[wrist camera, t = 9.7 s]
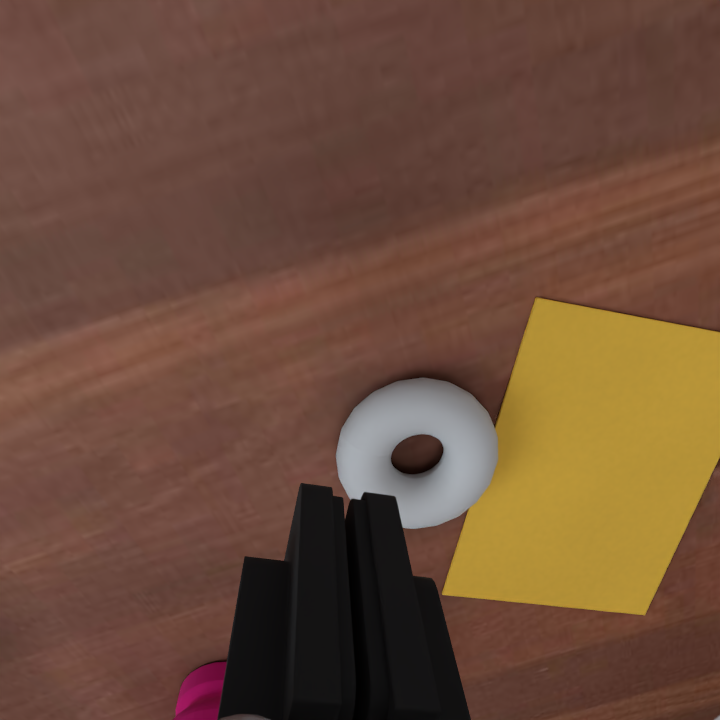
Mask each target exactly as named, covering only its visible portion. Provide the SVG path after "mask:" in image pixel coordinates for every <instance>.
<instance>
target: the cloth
mask: <svg viewBox="0 0 720 720" xmlns="http://www.w3.org/2000/svg"><path fill="white" fill-rule="evenodd" d="M494 428H495V430H496V433H497V436H498V462H497V465H496V468H495V471H494V474H493V477H492V480H491V483H490V485H489V486H488V487H487V489H486V490H485V492H484V493H483V494H482V496H481V497H480V498H479V500H478V501H477V502H476V503H475V504H474V505H472V506H471V507H470V508H469V509H468V512H467V515H466V518H465V521H464V525H463V528H462V531H461V534H460V537H459V540H458V543H457V547H456V550H455V553H454V556H453V559H452V562H451V566H450V569H449V572H448V575H447V578H446V581H445V584H444V588H443V591H442V595H450V596H460V597H470V598H480V599H490V600H500V601H510V602H520V603H530V604H540V605H550V606H559V607H569V608H579V609H589V610H599V611H609V612H619V613H629V614H639V615H645V614H646V611H647V609H648V607H649V605H650V603H651V601H652V599H653V597H654V595H655V592H656V590H657V588H658V586H659V584H660V582H661V580H662V578H663V576H664V573H665V571H666V569H667V567H668V565H669V563H670V561H671V559H672V557H673V554H674V552H675V550H676V548H677V546H678V544H679V542H680V540H681V538H682V535H683V533H684V531H685V529H686V527H687V525H688V523H689V521H690V519H691V516H692V514H693V512H694V510H695V508H696V506H697V504H698V502H699V500H700V497H701V495H702V493H703V491H704V489H705V487H706V485H707V483H708V481H709V478H710V476H711V474H712V472H713V470H714V468H715V466H716V464H717V462H718V459H719V457H720V332H717V331H712V330H706V329H701V328H696V327H691V326H685V325H680V324H675V323H670V322H664V321H659V320H654V319H649V318H643V317H638V316H633V315H628V314H622V313H617V312H612V311H607V310H601V309H596V308H591V307H585V306H580V305H575V304H570V303H564V302H559V301H554V300H549V299H543V298H538V297H536V298H535V301H534V304H533V307H532V310H531V314H530V317H529V320H528V323H527V326H526V329H525V332H524V336H523V339H522V342H521V345H520V348H519V351H518V354H517V358H516V361H515V364H514V367H513V370H512V373H511V377H510V380H509V383H508V386H507V389H506V392H505V395H504V399H503V402H502V405H501V408H500V411H499V414H498V417H497V421H496V424H495V427H494Z"/></svg>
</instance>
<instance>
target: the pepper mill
mask: <svg viewBox="0 0 720 720" xmlns="http://www.w3.org/2000/svg"><path fill="white" fill-rule="evenodd" d="M226 664H227V662H214V663H211V664H207V665H204V666H201V667H200V668H198V669H196V670H195V671H193V672H191V673H190V674H189V675H188V676H187V678H186V679H185V680H184V682H183V683H182V686H181V688H180V692H179V697H178V701H177V706H176V717H175V718H174V719H173V720H217V718H218V712H219V706H220V700H221V694H222V688H223V682H224V676H225V670H226Z"/></svg>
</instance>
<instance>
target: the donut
mask: <svg viewBox="0 0 720 720" xmlns="http://www.w3.org/2000/svg"><path fill="white" fill-rule="evenodd" d="M419 434H427V435H432V436H434V437H436V438H438V439H439V440H440V441H441V443H442V445H443V448H444V451H443V455H442V458H441V460H440V461H439V462H438V464H436V465H435V466H434V467H433V468H431V469H430V470H428V471H425V472H423V473H419V474H405V473H402V472H400V471H398V470H397V469H396V468H394V467H393V465H392V463H391V455H392V451H393V450H394V448H395V447H396V445H397V444H399V443H400V442H401V441H402V440H403V439H406V438H408V437H410V436H413V435H419ZM336 461H337V468H338V475H339V479H340V481H341V483H342V485H343V487H344V489H345V491H346V492H347V494H348V496H349V498H350V500H351V499H359V500H361V497H362V495H363V493H364V492H370V493H377V494H384V495H392V496H395V497H396V500H397V504H398V508H399V513H400V518H401V523H402V527H403V528H411V529H416V528H423V527H430V526H437V525H439V524H442V523H444V522H446V521H449V520H451V519H453V518H456V517H458V516H460V515H461V514H462V513H464V512H465V511H466V510H467V509H469V508H470V507H471V506H472V505H474V504H475V503H476V502H477V501H478V500H479V498H480V497H481V496H482V494H483V493H484V492H485V490H486V489H487V487H488V486H489V485H490V483H491V480H492V477H493V474H494V471H495V468H496V465H497V462H498V436H497V433H496V430H495V428H494V425H493V423H492V420H491V418H490V416H489V413H488V411H487V410H486V409H485V408H484V407H483V406H482V405H481V404H480V403H479V402H478V401H477V400H476V398H475V397H474V396H473V395H472V394H470V393H469V392H467V391H465V390H463V389H461V388H459V387H457V386H456V385H454V384H452V383H450V382H448V381H441V380H435V379H429V378H416V379H408V380H401V381H396V382H394V383H392V384H389V385H387V386H385V387H383V388H380V389H378V390H376V391H374V392H372V393H371V394H370V395H369V396H368V397H367V398H365V399H364V400H363V401H362V402H361V403H360V404H358V405H357V406H356V407H355V408H354V409H353V411H352V413H351V414H350V416H349V417H348V419H347V421H346V422H345V424H344V426H343V427H342V429H341V433H340V438H339V442H338V447H337V452H336Z"/></svg>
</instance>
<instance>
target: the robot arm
mask: <svg viewBox="0 0 720 720" xmlns="http://www.w3.org/2000/svg"><path fill="white" fill-rule="evenodd" d="M217 720H471V718H470V715H469V711H468V707H467V703H466V699H465V695H464V691H463V687H462V683H461V680H460V676H459V672H458V668H457V664H456V660H455V656H454V652H453V648H452V645H451V641H450V637H449V633H448V629H447V625H446V621H445V617H444V614H443V610H442V606H441V602H440V598H439V594H438V590H437V587H436V585H435V582H434V581H433V580H432V578H426V577H418V576H413V575H412V570H411V565H410V560H409V556H408V551H407V546H406V541H405V537H404V532H403V527H402V523H401V518H400V513H399V508H398V504H397V500H396V497H395V496H392V495H384V494H377V493H370V492H364V493H363V495H362V497H361V500H359V499H351V500H350V503H349V506H348V510H347V514H346V518H345V517H344V503H343V498H342V497H337V496H333V491H332V487H326V486H318V485H311V484H304V483H301V484H300V487H299V492H298V496H297V501H296V506H295V511H294V516H293V521H292V525H291V530H290V535H289V540H288V545H287V550H286V554H285V559H284V561H280V560H271V559H263V558H254V557H246V556H245V558H244V563H243V569H242V575H241V581H240V586H239V592H238V598H237V604H236V610H235V616H234V622H233V628H232V634H231V640H230V646H229V652H228V658H227V664H226V670H225V676H224V682H223V688H222V694H221V700H220V706H219V712H218V718H217Z"/></svg>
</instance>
